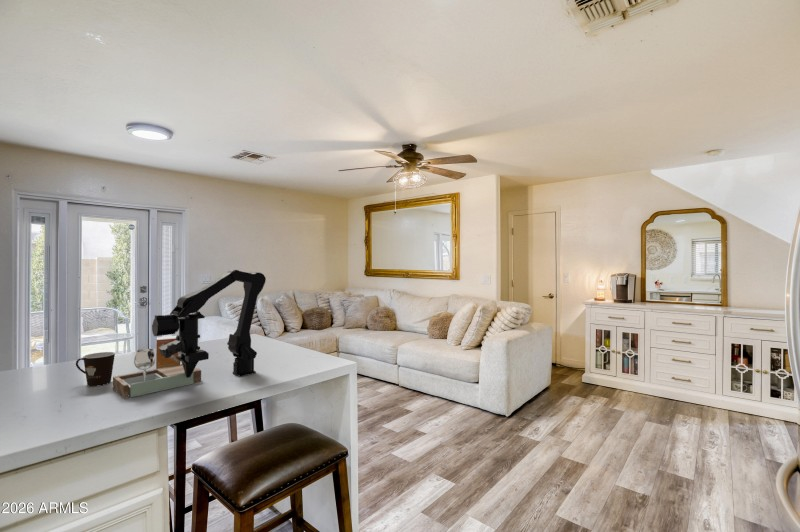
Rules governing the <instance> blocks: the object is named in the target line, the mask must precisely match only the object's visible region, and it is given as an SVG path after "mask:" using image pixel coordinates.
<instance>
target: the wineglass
mask: <svg viewBox="0 0 800 532" xmlns="http://www.w3.org/2000/svg"><path fill="white" fill-rule="evenodd" d="M133 364H134V366H135V368H136V369H138V370H142V371H143V375H144V381H146V373H147V372H146V371H147V370H149V369H151V368H152V367H153V366H154V365H155V364H156V353H155V351H154V349H153V348H143V349H138V350H136V352H135V355H134V360H133Z"/></svg>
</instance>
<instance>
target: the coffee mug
mask: <svg viewBox="0 0 800 532" xmlns="http://www.w3.org/2000/svg"><path fill="white" fill-rule="evenodd" d="M115 353H116V352H113V351H101V352H100V351H99V352H94V353H89V354H85V355H83V356H82V358H78V359H77V360H76V361H75V367H76V368H77V369H78V370H79V371H80V372H82V373H83V374H84V375H85V379H86V385H89V386H88V387H98V386H97V385H101V386H104V385H103V384H105V385H108V384H110V383H111V382H112V378H113V369H114V364H115V363H114V362H115V356H116V354H115ZM80 361H83V365H84V366H83V367H84V369H82V368H81V367H80V365H79V362H80ZM107 383H108V384H107Z"/></svg>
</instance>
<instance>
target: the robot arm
mask: <svg viewBox="0 0 800 532" xmlns="http://www.w3.org/2000/svg"><path fill="white" fill-rule="evenodd" d="M235 282H241V283H243V285H242V286H243V291H244V296H243V300H242V305H241V309H240V314H239V318H238V322H237V327H236V330H235V331H234V333H233V334H232V333H230V334H229V336H228V341H227V343H226V345H227V348H228V350H229V352H230V353H232V356H233V358H234V362H233V366H232V367H233V368H232V369H233V371H232V374H234V375H235V376H238V377H244V376H248V374H249V375H252V373H253V374H256V373H257V371H256V370H255V359H256V357H257V354H258V352H257V351H256V350H255V349H253V348H252V338H251V327H252V323H253V318H254V314H255V309H256V305H257V300H258V296H259V294H260V293H261V292H262V291H263V288H264V287H265V285H266V276H265V274H264V273H262V272H257V271H254V272H252V271H249V272H246V271H240V270H238V269H230V270H228V271H227V272H225V273H224V274H223V275H221V276H219V277H218V278H216V279H214V280H213V281H211V282H210V283H208V284H207V285H205V286H204V287H202V288H201V289H198V290H195V291H192V292H188V293H186V294H185V295H182V296H180V297H179V298H178V299H177V303H176V305H175V307H174V308H173V309H172V311H171V312H170V313H169V314H164V315H163V314H156V315H154V319H153V321H152V324H151V331H152V335H153V337H163V336H171V335H175V334H176V333H177V332H178V335H176V336H177V337H176V340H175V341H173V342H170V343H168V344H166V345H164V346H162V347H160V348H159V350H160V352H161V355H162V357H165V358H169V357H171V356H172V355H174V354H176V353H178V357H176V359H178V360H180V363H181V364H182V365H183V368H184V371H185V375H186V377H187V378H189V377H191V375H192V373H193V371H194V369H195V368H197V365H198V363H199V362H200V361H207V360H209V356H210V355H209V352H207V351H206V350H205V349H201V346H200V345H199V339H200V338H201V334H199V319H205V318H206V316H205V315H203V314H202V312H201V311H199V310H201V309H202V308H203V307H204V306H205V305H206V303H208V300H210V299H211V298H212V297H214V296H215V295H216V294H218V293H220V292H222V291H223V290H225V289H226V288H227V287H229V286H230V285H232V284H233V283H235Z"/></svg>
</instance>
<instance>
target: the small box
mask: <svg viewBox="0 0 800 532" xmlns="http://www.w3.org/2000/svg"><path fill="white" fill-rule="evenodd" d="M176 337H177V335H165V336H156V347H155V348H156V349H155V369H159V368H164V367H170V366H175V365H181V361H180V360H178V359H176V357H178V353H176V354H174V355H172V356H171V357H169V358H165V357H162V355H161V352H160V350H159V348H160V347H162V346H164V345H166V344H168V343H170V342H173V341H175V340H176Z"/></svg>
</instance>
